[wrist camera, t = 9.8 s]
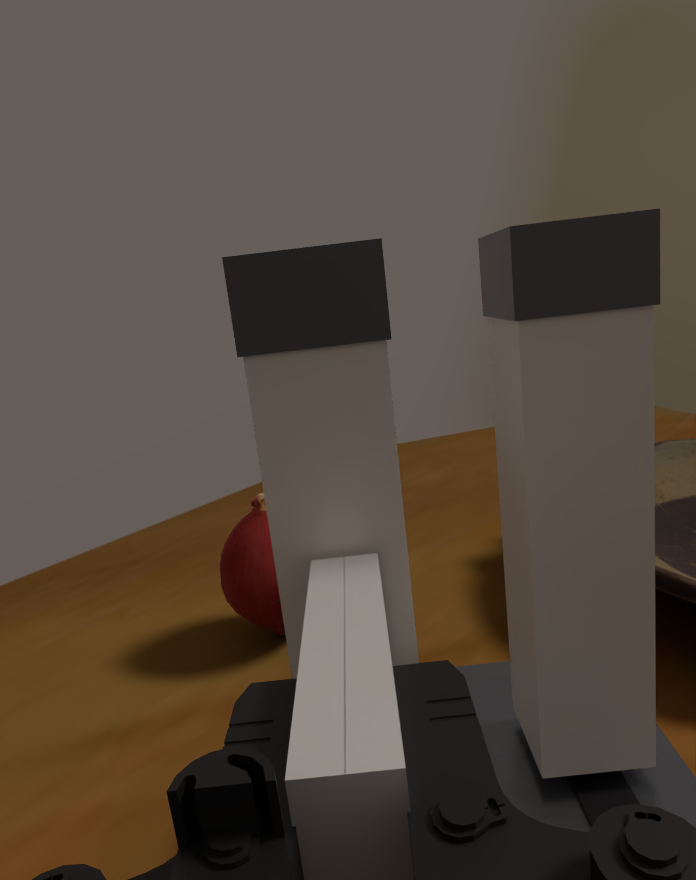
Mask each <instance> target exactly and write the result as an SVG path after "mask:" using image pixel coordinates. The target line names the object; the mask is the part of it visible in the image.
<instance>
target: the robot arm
mask: <svg viewBox="0 0 696 880" xmlns="http://www.w3.org/2000/svg"><path fill="white" fill-rule="evenodd" d="M224 743H225V746H224V747H223V749H222V750H218V751H214V752H210V753H208V754H206V755H204V756H202V757H200V758H198V759H196V760H194V761H193V762H191V763H190V764H189V765H188V766H186V767H185V768H184V769H183V770H182V771H181V772H180V773H179V774H177V775H176V777H175V778H174V780H173V782H172V783H171V785H170V787H169V789H168V790H167V796H168V800H169V805H170V810H171V814H172V819H173V824H174V829H175V833H176V838H177V843H178V847H179V849H178V852H177V855H176V856H174V857H173V858H172V859H170V860H169V861H167V862H166V863H164V864H163V865H161V866H159V867H156V868H154V869H152V870H150V871H148V872H146V873H143V874H141V875H138V876H136V877H133V878H130V879H128V880H696V828H695V827H694V826H693V825H691V824H690V823H689V822H687V821H686V820H685V819H683V818H682V817H680V816H677V815H675V814H673V813H670V812H668V811H666V810H663V809H661V808H658V807H652V806H646V805H639V804H631V805H623V806H616V807H613V808H611V809H609V810H608V811H606V812H604V813H602V814H601V815H599V816H598V817H597V819H596V821H595V822H594V824H593V826H592V827H591V829H590V833H589V832H583V831H577V830H572V829H566V828H560V827H556V826H552V825H549V824H545V823H542V822H539V821H537V820H535V819H533V818H531V817H529V816H527V815H525V814H524V813H523V812H521V811H520V810H519V809H517V808H516V807H515V806H513V805H512V803H511V802H510V801H509V799H508V797H507V796H505V795H504V794H503V792H502V790H501V788H500V785H499V783H498V780H497V777H496V774H495V771H494V768H493V765H492V761H491V758H490V755H489V752H488V749H487V746H486V742H485V739H484V736H483V733H482V730H481V727H480V723H479V720H478V718H477V715H476V711H475V708H474V704H473V701H472V700H471V695H470V692H469V689H468V685H467V682H466V679H465V676H464V675H463V674H462V673H461V672H460V671H459V670H457V669H456V668H455V667H454V666H453V665H452V664H451V663H450V662H449V661H448V660H444V661H435V662H426V663H416V664H407V665H398V666H392V660H391V652H390V645H389V637H388V629H387V622H386V614H385V606H384V599H383V591H382V584H381V576H380V568H379V561H378V553H374V554H365V555H356V556H347V557H338V558H329V559H320V560H311V566H310V574H309V583H308V591H307V599H306V608H305V616H304V624H303V633H302V641H301V649H300V658H299V666H298V674H297V678H296V679H287V680H277V681H268V682H258V683H251V684H250V685H249V686H248V688H247V689H246V690H245V691H244V692H243V694H242V695H241V696H240V697H239V698H238V700H237V701H236V702H235V704H234V708H233V712H232V715H231V719H230V723H229V728H228V731H227V734H226V738H225V742H224ZM32 880H106V878H105V877H104V876H103V874H102V873H101V871H100V870H99V869H96V868H93V867H91V866H88V865H86V864H76V865H63V866H61V867H58V868H55V869H52V870H50V871H47V872H44V873H42V874H40V875H38V876H37V877H35V878H34V879H32Z"/></svg>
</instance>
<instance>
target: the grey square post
mask: <svg viewBox="0 0 696 880" xmlns="http://www.w3.org/2000/svg"><path fill="white" fill-rule="evenodd" d="M222 259H223V266H224V272H225V278H226V285H227V292H228V298H229V305H230V310H231V318H232V324H233V331H234V337H235V343H236V350H237V356H238V357H243V359H244V365H245V372H246V378H247V385H248V392H249V398H250V405H251V411H252V418H253V424H254V431H255V438H256V444H257V451H258V457H259V464H260V470H261V477H262V484H263V490H264V497H265V503H266V510H267V516H268V523H269V530H270V536H271V543H272V549H273V556H274V562H275V569H276V576H277V582H278V589H279V595H280V602H281V608H282V615H283V622H284V628H285V635H286V641H287V648H288V654H289V661H290V668H291V674H292V679H296V678H297V674H298V666H299V658H300V649H301V641H302V633H303V624H304V616H305V608H306V599H307V591H308V583H309V574H310V566H311V560H320V559H329V558H338V557H347V556H356V555H365V554H374V553H378V561H379V568H380V576H381V584H382V591H383V599H384V606H385V614H386V622H387V629H388V637H389V645H390V652H391V660H392V666H398V665H407V664H416V663H419V660H418V650H417V640H416V630H415V621H414V611H413V601H412V591H411V581H410V571H409V561H408V551H407V541H406V531H405V521H404V511H403V501H402V491H401V481H400V471H399V461H398V452H397V442H396V432H395V422H394V413H393V402H392V393H391V382H390V372H389V362H388V352H387V342H386V340H389V339H391V330H390V320H389V311H388V300H387V290H386V280H385V270H384V259H383V250H382V239H372V240H364V241H356V242H347V243H339V244H330V245H322V246H314V247H305V248H298V249H289V250H281V251H272V252H264V253H255V254H247V255H239V256H231V257H223V258H222Z"/></svg>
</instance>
